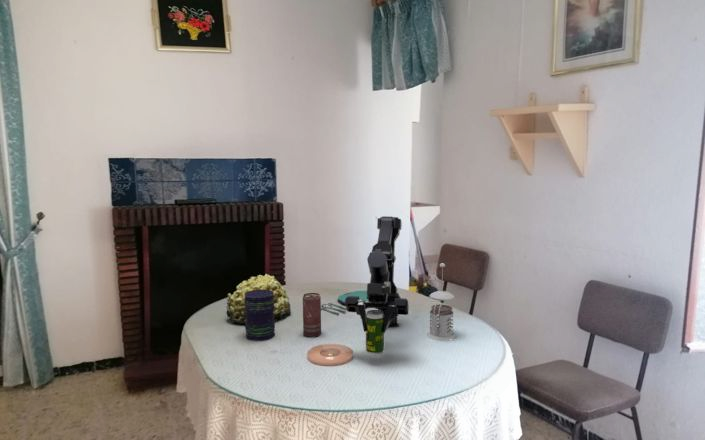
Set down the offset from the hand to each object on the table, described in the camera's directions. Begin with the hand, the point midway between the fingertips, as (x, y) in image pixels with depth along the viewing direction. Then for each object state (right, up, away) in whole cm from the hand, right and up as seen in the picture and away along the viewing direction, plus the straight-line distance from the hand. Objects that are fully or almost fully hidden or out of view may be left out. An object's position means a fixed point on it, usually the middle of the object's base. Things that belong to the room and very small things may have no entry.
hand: (374, 331), depth 144 cm
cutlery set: (-6, -3, +61) cm, 61 cm away
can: (-20, -7, +26) cm, 33 cm away
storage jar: (-38, -7, +25) cm, 46 cm away
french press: (+23, -7, +24) cm, 34 cm away
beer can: (0, -7, +2) cm, 7 cm away
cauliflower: (-42, -4, +46) cm, 63 cm away
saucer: (-13, -9, +7) cm, 17 cm away
